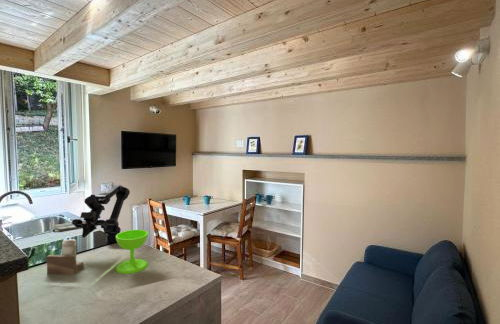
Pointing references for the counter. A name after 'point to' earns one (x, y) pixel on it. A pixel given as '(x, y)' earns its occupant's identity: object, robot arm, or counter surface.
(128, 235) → the wineglass
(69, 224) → the dish towel
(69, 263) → the roll holder
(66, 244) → the roll carriage
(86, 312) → the counter surface
